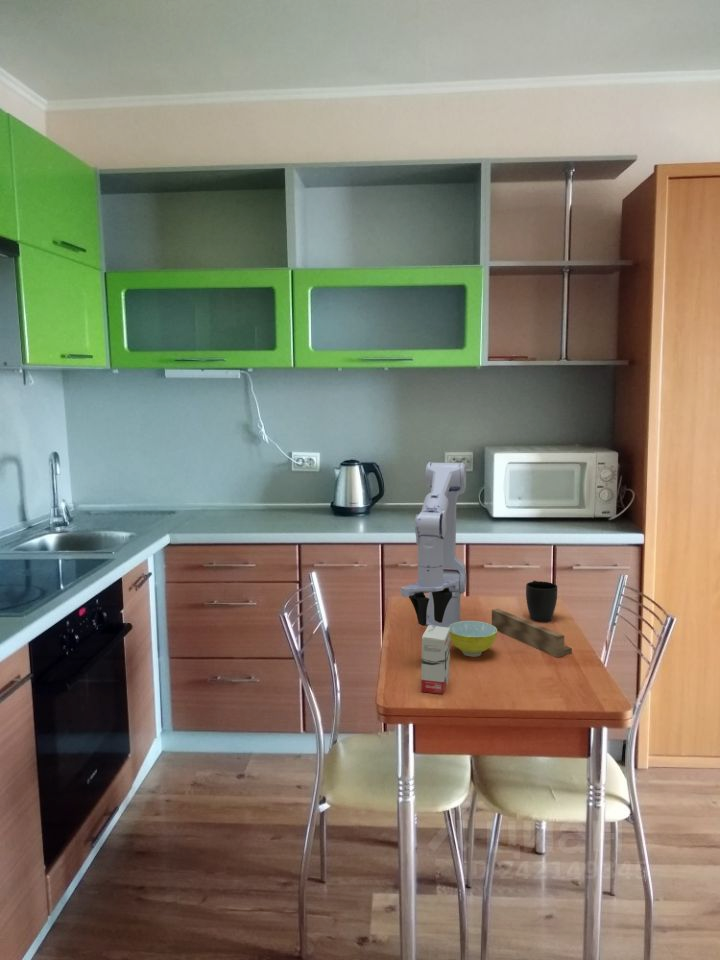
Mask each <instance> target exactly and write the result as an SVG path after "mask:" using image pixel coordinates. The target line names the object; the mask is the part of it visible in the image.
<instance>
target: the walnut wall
mask: <svg viewBox="0 0 720 960" xmlns="http://www.w3.org/2000/svg"><path fill="white" fill-rule="evenodd" d="M491 625H493V626H494V627H496V629H497V632H500V633H501V634H503V635H506V636H508V637H510V638H513V639H515V640H517V641H519V642H521V643H523V644H526V645H528V646H530V647H533V648H535V649H538V650H539V651H541V652H543V653H546V654H548V655H551V656H552V657H554V658H557V659H558V658H561V656H562V657H564V656H566V655H571V654H572V652H573V650H572V649H573V648H572V647H569V646H568V645H565V635H564V634H561V633H559V632H557V631H554V630H551V629H549V628H547V627H544V626H543V625H542V626H541V625H539V624H537V623H534V622H532V621H529V620H527V619H525V618H522V617H520V616H517V615H516V614H512V613H509V612H507V611H504V610H502V609H500V608H494V609H491ZM565 654H566V655H565Z"/></svg>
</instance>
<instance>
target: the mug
mask: <svg viewBox="0 0 720 960" xmlns="http://www.w3.org/2000/svg"><path fill="white" fill-rule="evenodd" d="M525 597H526V598H525V599H526V605H527V610H528V613H529V616H530V620H532V621H533V622H537V623H547V622H551V621H552V619H553V615H554V612H555V610H556V606H557V601H558V600H557V599H558V585H557V584H555V583H553V582H549V581H539V580H532V581H531V582H527V583H526V586H525Z"/></svg>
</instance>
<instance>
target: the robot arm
mask: <svg viewBox="0 0 720 960" xmlns="http://www.w3.org/2000/svg"><path fill="white" fill-rule="evenodd" d="M424 476H425V484H426V486H427V487H428V489H429V491H430V492H429V493H428V494H427V495H425V498H424V500H423V503H422V507H421V511H420V512H419V514H418V513H416V515H415V519H414V532H415V543H416V546H417V582H415V583H412V584H409V585H405V586H401V587H400V596H401V597H403V598H409V600H410V601H411V604H412V606H413V609H414V611H415V614H416V619H417V623H418V625H420V626H423V627H425V626H428V625H433V626H440V627H447V628H448V627H449V625H451V624H453V623H455V622H460V621H461V594H464V593H465V592H466V589H467V571H466V570H467V569H466V567H467V566H466V564H465V562H463V561H462V560H461V559H459V557H457V556H456V542H457V540H456V539H457V535H456V534H457V502H458V498H459V495H462V494H465V493H466V489H467V488H466V487H467V466H466V464H465V462H432V461H429V462H428V463H427V464H426V466H425V475H424ZM425 594H427V596H426V595H425Z"/></svg>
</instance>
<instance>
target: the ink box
mask: <svg viewBox="0 0 720 960" xmlns="http://www.w3.org/2000/svg"><path fill="white" fill-rule="evenodd" d="M450 647H451V639H450V628H447V627H440V626H433V625H427V627H426V628H425V631H424V633H423V634H422V637H421V673H420V674H421V676H420V677H421V679H420V683H421V684H420V692H421V693H430V694H438V695H439V694H440V695H444V693H445V691H446V688H447V685H448V683H449V680H450V655H451V654H450V651H451V648H450Z"/></svg>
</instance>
